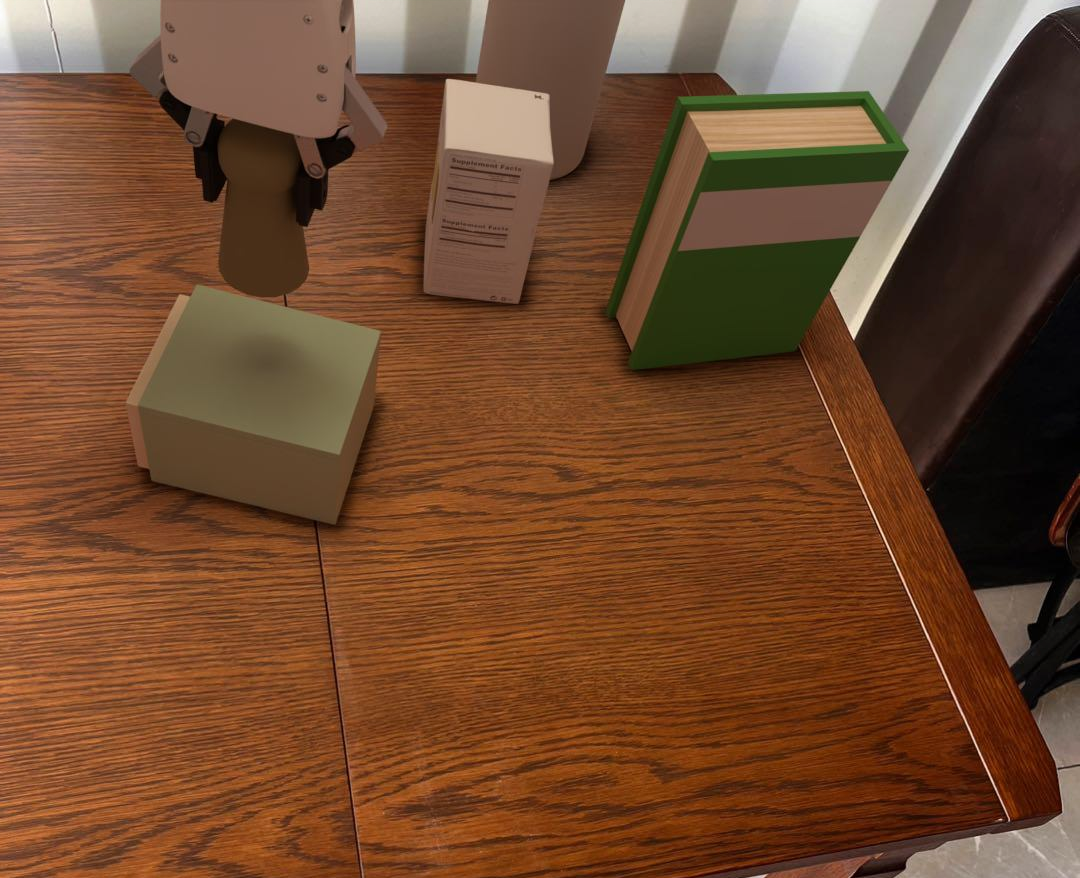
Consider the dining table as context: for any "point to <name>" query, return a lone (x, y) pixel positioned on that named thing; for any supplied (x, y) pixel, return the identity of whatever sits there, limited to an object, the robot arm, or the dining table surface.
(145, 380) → the drawer
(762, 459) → the dining table surface
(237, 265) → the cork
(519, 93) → the supplement box
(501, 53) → the cylinder vase
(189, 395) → the cabinet
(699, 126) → the hardback book
